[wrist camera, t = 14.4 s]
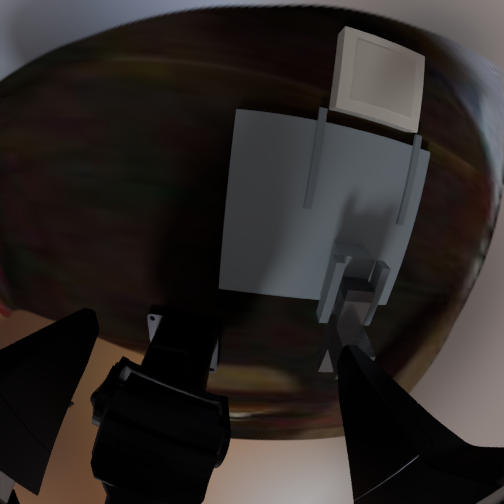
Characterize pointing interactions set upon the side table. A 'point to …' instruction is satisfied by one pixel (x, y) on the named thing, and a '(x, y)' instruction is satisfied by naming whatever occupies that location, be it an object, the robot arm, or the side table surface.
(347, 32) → the cover
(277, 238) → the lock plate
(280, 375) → the side table surface
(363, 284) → the grey stepped block
